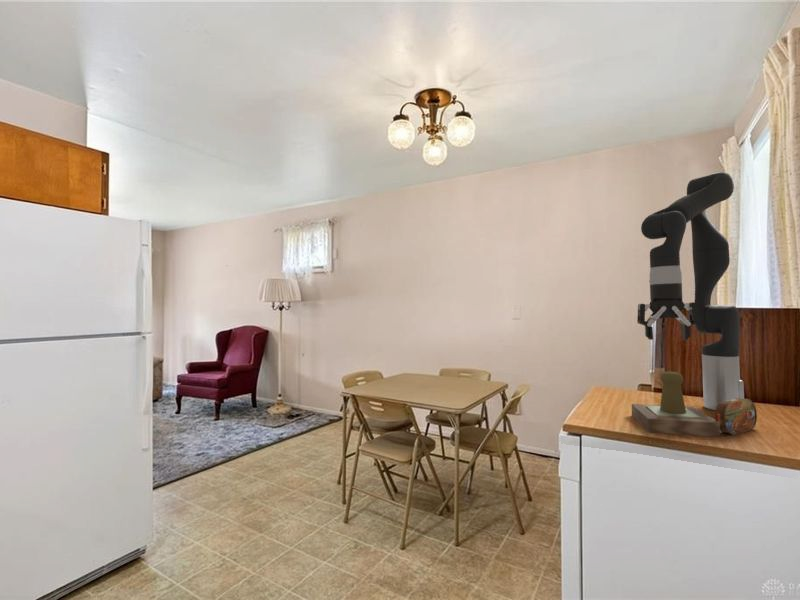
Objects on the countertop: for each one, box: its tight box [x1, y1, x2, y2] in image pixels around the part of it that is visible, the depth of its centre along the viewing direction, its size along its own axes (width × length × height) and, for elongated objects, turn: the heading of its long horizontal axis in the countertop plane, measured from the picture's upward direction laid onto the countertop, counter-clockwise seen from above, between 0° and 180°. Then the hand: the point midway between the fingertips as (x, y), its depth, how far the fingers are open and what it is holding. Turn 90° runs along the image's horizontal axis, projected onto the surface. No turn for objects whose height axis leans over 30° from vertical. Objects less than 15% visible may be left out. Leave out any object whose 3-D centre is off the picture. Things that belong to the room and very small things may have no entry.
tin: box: [714, 398, 758, 436], centre depth 102 cm, size 15×3×8 cm, turn 114°
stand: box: [631, 403, 721, 438], centre depth 108 cm, size 16×16×4 cm
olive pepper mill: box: [659, 371, 686, 414], centre depth 108 cm, size 6×6×11 cm
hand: (667, 339), depth 109 cm, fingers open, 8 cm apart
